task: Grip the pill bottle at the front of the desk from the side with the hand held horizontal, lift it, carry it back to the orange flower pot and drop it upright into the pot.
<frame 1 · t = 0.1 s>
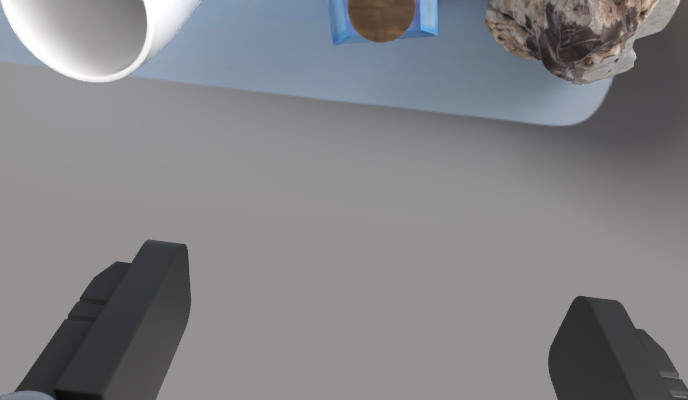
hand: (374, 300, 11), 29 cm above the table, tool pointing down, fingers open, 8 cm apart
rock: (545, 66, 37), point 1 cm above the table
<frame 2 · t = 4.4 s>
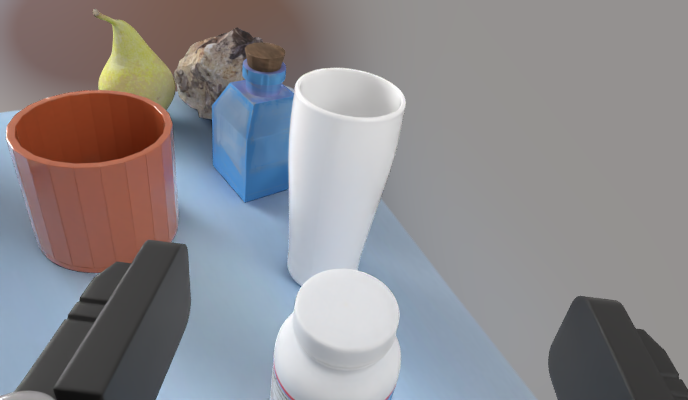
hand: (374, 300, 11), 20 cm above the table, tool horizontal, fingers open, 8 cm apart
fruit: (138, 122, 52), on the table
orange flower pot: (110, 225, 40), on the table
perfume bottle: (258, 176, 48), on the table
rock: (268, 100, 58), point 1 cm above the table
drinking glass: (321, 272, 40), on the table
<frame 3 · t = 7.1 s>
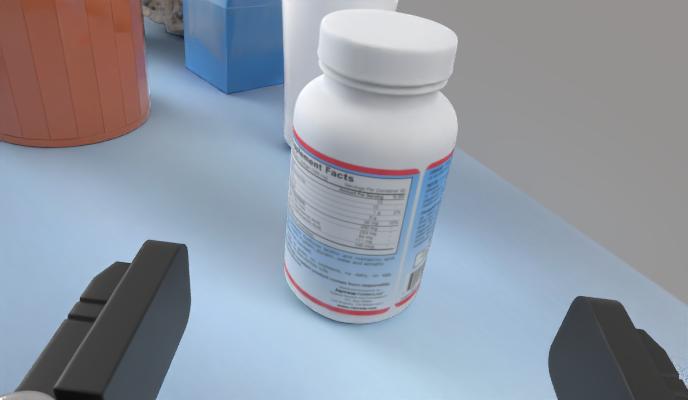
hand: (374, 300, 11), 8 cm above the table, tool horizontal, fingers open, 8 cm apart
pill bottle: (349, 282, 24), on the table
orange flower pot: (69, 111, 34), on the table
perfume bottle: (239, 76, 43), on the table
rock: (242, 20, 53), point 1 cm above the table
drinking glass: (323, 146, 34), on the table
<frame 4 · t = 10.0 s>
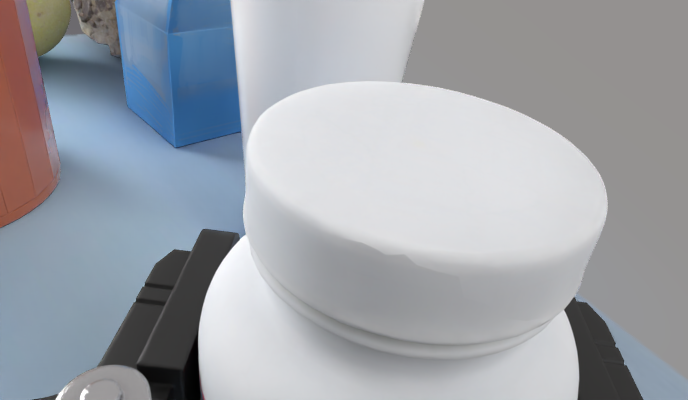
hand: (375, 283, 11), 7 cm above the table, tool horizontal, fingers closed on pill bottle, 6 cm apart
fruit: (19, 63, 36), on the table
perfume bottle: (198, 118, 32), on the table
rock: (212, 38, 43), point 1 cm above the table
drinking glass: (304, 233, 24), on the table
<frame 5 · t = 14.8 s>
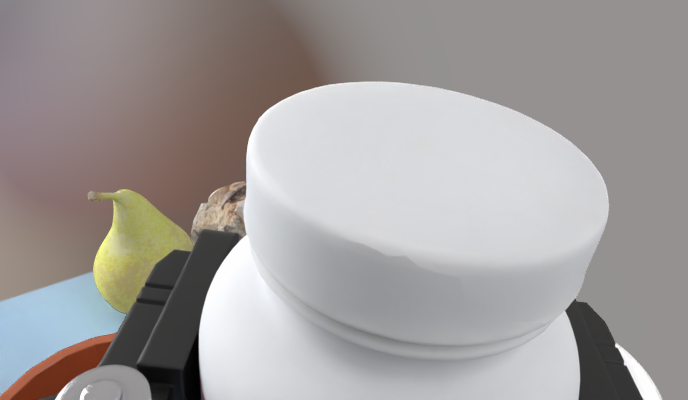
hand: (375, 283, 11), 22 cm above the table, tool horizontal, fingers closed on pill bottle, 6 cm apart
fruit: (148, 306, 38), on the table
rock: (310, 245, 45), point 1 cm above the table
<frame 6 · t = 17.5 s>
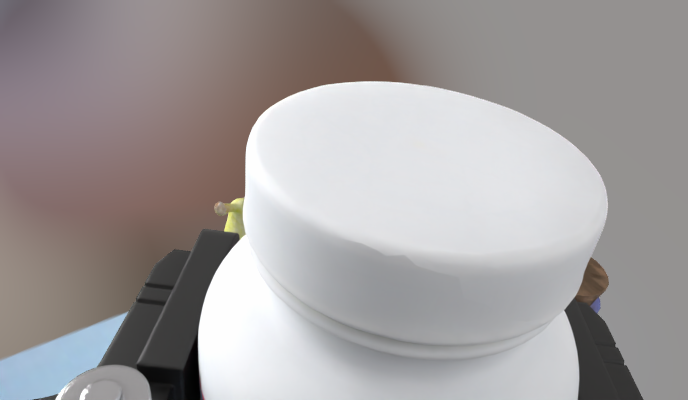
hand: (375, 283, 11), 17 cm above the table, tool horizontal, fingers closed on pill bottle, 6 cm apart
fruit: (250, 339, 31), on the table
when the fingers open (13 cm above the table, at t = 19.5 s): pill bottle drops 6 cm, resting on orange flower pot.
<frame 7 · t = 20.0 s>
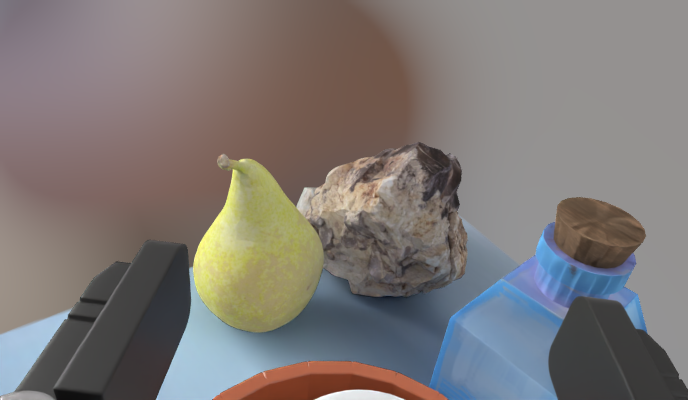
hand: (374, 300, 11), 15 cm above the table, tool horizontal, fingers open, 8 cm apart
fruit: (255, 317, 30), on the table
rock: (436, 240, 37), point 1 cm above the table
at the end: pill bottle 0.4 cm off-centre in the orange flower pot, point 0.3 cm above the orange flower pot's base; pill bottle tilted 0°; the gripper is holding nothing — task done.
